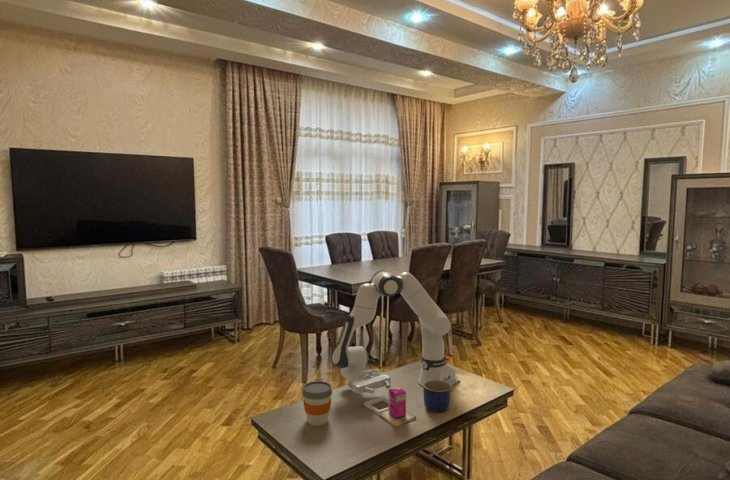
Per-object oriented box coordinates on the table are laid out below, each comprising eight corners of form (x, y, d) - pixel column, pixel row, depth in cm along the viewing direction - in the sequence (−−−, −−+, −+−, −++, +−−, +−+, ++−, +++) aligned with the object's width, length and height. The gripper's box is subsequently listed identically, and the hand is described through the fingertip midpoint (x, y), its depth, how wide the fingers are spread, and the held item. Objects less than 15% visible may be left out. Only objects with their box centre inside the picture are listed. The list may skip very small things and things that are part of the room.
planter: (455, 412, 200) (456, 388, 199) (431, 417, 195) (432, 393, 194) (441, 400, 211) (441, 378, 210) (418, 404, 207) (418, 382, 206)
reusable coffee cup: (337, 417, 194) (337, 384, 193) (320, 430, 183) (320, 395, 182) (314, 410, 201) (314, 378, 199) (296, 422, 190) (296, 389, 188)
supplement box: (387, 413, 196) (388, 388, 195) (399, 410, 199) (399, 386, 198) (394, 419, 191) (395, 393, 190) (406, 416, 194) (406, 391, 193)
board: (399, 408, 203) (399, 406, 203) (416, 418, 194) (416, 416, 194) (379, 416, 196) (379, 413, 196) (395, 426, 187) (395, 424, 187)
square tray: (382, 399, 212) (382, 396, 212) (397, 408, 203) (397, 405, 203) (364, 405, 206) (364, 402, 206) (378, 414, 197) (378, 411, 197)
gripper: (345, 377, 208) (362, 388, 197) (380, 368, 220) (398, 377, 209) (345, 390, 209) (362, 401, 198) (380, 380, 221) (397, 390, 210)
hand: (381, 389), depth 204 cm, fingers open, 8 cm apart
